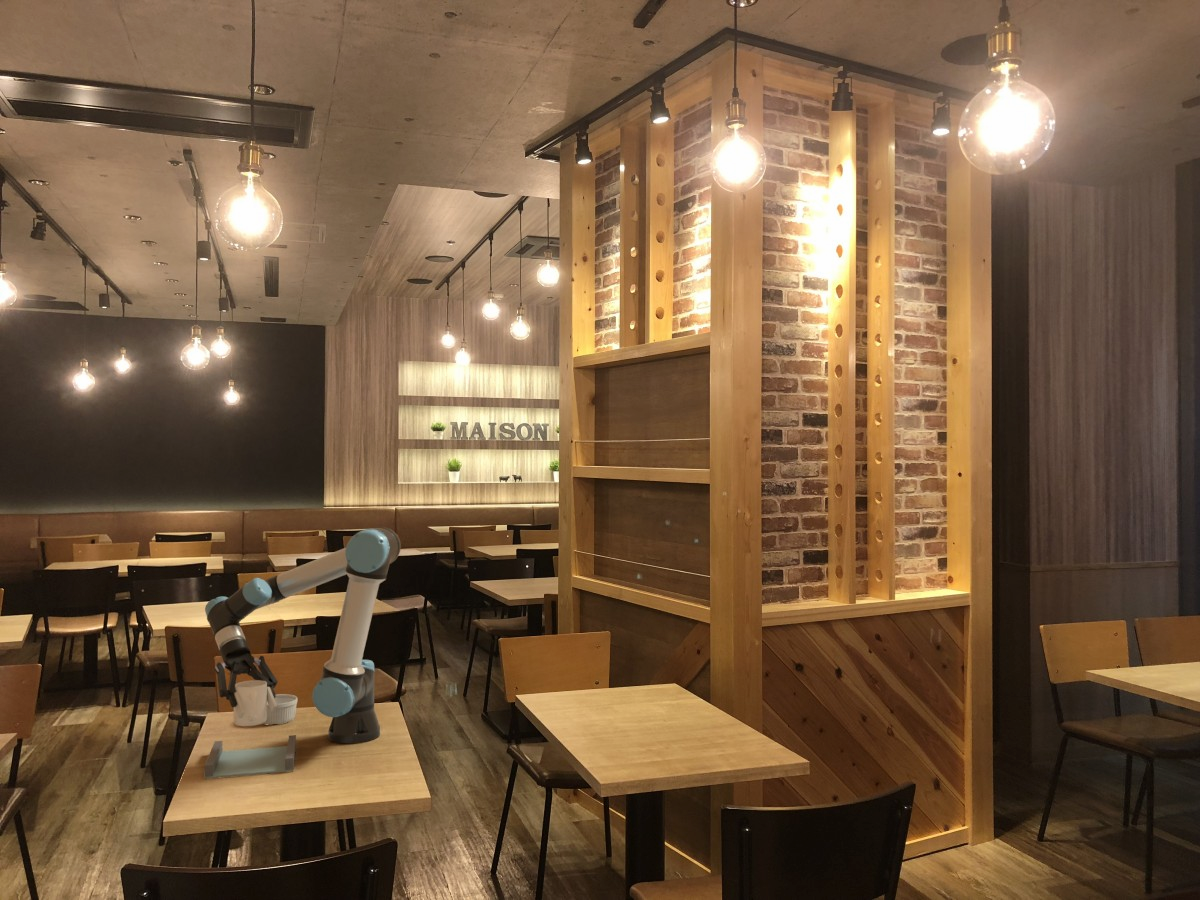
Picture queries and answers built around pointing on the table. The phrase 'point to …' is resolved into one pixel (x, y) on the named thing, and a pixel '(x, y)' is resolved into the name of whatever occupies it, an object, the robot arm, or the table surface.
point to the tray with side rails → (250, 760)
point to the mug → (252, 702)
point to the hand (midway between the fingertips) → (258, 712)
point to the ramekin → (282, 710)
